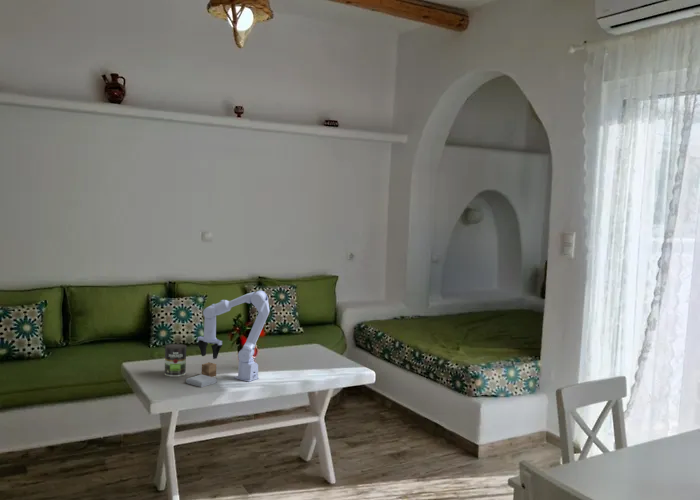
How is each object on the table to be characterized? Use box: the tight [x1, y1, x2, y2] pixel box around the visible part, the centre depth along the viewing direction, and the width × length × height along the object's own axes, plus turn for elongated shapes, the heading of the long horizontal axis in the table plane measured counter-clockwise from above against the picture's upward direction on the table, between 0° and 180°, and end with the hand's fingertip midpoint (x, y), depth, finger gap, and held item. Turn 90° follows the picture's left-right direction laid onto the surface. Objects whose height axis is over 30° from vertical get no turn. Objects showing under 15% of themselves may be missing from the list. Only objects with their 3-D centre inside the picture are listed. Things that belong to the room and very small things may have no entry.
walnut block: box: [201, 362, 217, 378], centre depth 302 cm, size 5×5×6 cm
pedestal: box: [185, 373, 218, 388], centre depth 291 cm, size 10×10×2 cm
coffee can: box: [164, 343, 188, 378], centre depth 302 cm, size 10×10×14 cm
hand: (209, 357), depth 302 cm, fingers open, 7 cm apart
